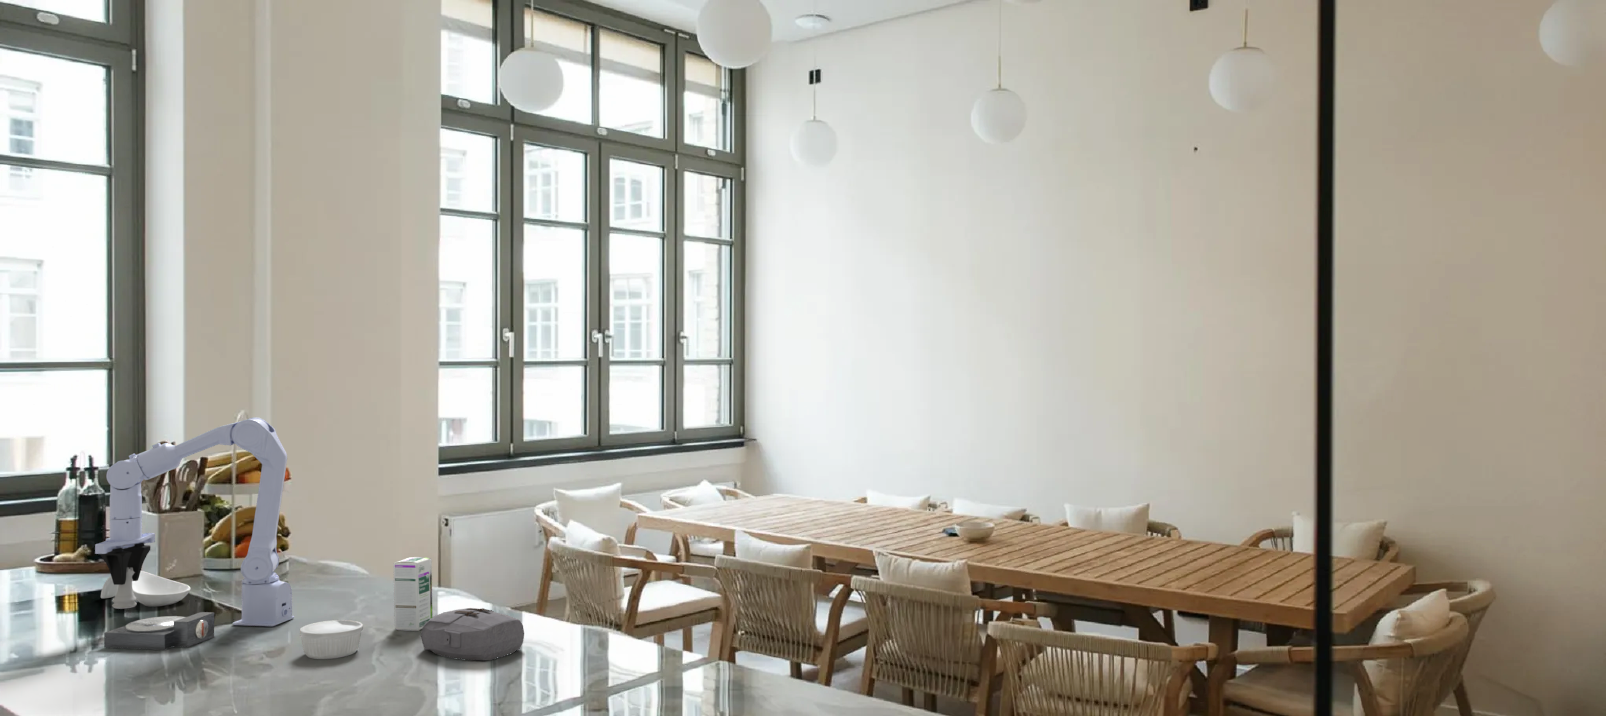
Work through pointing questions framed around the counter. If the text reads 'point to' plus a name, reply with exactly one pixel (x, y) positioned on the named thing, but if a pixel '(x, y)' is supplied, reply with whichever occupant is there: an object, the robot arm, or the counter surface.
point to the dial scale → (162, 632)
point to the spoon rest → (150, 590)
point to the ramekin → (331, 638)
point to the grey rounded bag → (472, 634)
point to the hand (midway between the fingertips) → (126, 582)
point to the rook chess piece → (125, 593)
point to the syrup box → (412, 593)
